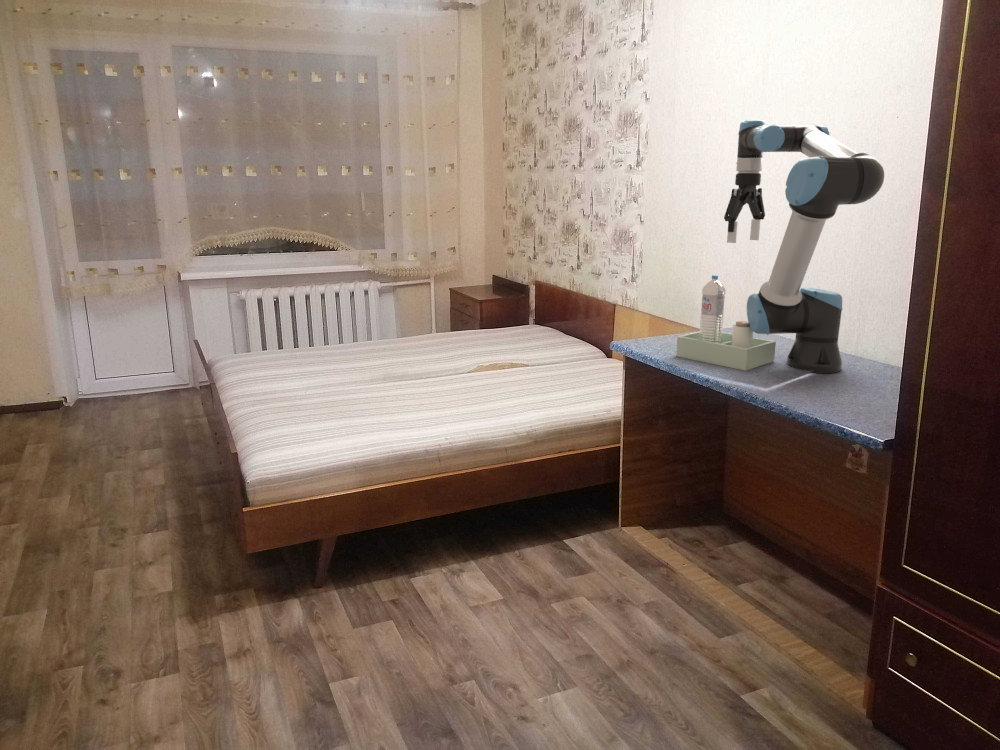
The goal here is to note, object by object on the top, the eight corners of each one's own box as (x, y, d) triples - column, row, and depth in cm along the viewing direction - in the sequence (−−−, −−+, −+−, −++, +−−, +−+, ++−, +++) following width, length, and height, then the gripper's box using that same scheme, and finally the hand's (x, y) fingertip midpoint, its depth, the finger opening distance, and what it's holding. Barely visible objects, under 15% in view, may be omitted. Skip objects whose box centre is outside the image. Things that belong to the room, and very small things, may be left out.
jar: (754, 362, 227) (758, 322, 224) (743, 365, 223) (747, 325, 220) (736, 358, 231) (740, 320, 228) (726, 361, 227) (729, 322, 224)
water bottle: (723, 358, 232) (729, 277, 225) (700, 358, 232) (706, 277, 225) (717, 353, 238) (723, 274, 232) (695, 352, 238) (700, 274, 232)
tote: (773, 363, 228) (775, 341, 226) (745, 373, 217) (747, 349, 216) (705, 350, 245) (706, 329, 243) (676, 358, 235) (677, 336, 233)
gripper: (758, 172, 245) (753, 238, 251) (715, 172, 229) (710, 243, 235) (780, 172, 240) (773, 239, 245) (737, 172, 224) (732, 244, 229)
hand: (743, 241), depth 240 cm, fingers open, 13 cm apart
